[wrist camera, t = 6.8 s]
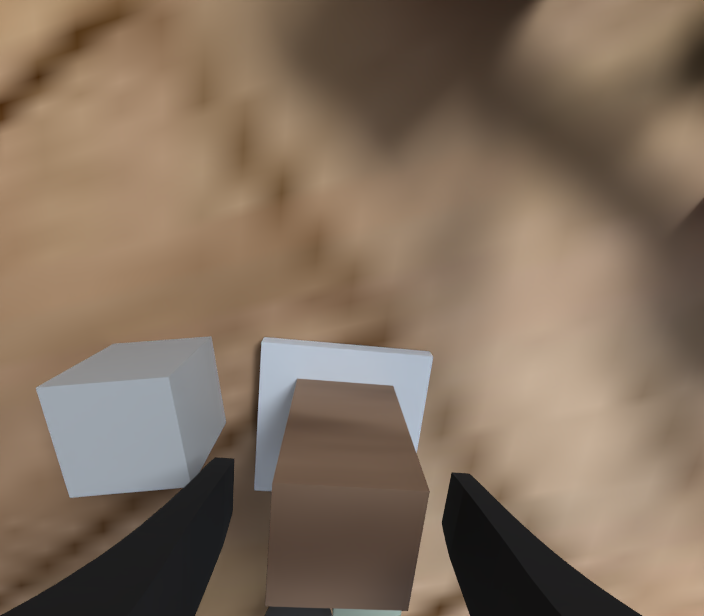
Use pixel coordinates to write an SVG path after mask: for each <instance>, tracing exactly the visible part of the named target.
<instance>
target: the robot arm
mask: <svg viewBox="0 0 704 616" xmlns="http://www.w3.org/2000/svg"><path fill="white" fill-rule="evenodd" d="M233 484H234V459H231V458H214V459H213V460H211V461H210V462H209V463H208V464H207V465H206V466H205V467H204V468H203V469H202V470H201V471H200V472H199V473H198V474H197V475H196V476H195V477H194V478H193V479H192V480H191V481H190V482H189V483H188V484H187V485H186V486H185V487H184V488H183V489H182V490H181V491H180V492H178V493H177V494H176V495H175V496H174V497H173V498H172V499H171V500H170V501H169V502H168V503H166V504H165V505H164V506H163V507H162V508H161V509H160V510H158V511H157V512H156V513H155V514H154V515H152V516H151V517H150V518H149V519H148V520H146V521H145V522H144V523H143V524H142V525H141V526H139V527H138V528H137V529H136V530H134V531H133V532H132V533H130V534H129V535H128V536H127V537H125V538H124V539H123V540H121V541H120V542H119V543H117V544H116V545H115V546H113V547H112V548H110V549H109V550H108V551H106V552H105V553H103V554H102V555H101V556H99V557H98V558H96V559H95V560H93V561H91V562H90V563H88V564H87V565H85V566H84V567H82V568H81V569H79V570H77V571H76V572H74V573H73V574H71V575H70V576H68V577H67V578H65V579H64V580H62V581H60V582H59V583H57V584H55V585H54V586H52V587H50V588H49V589H47V590H45V591H44V592H42V593H40V594H38V595H37V596H35V597H33V598H31V599H30V600H28V601H26V602H24V603H22V604H21V605H19V606H17V607H15V608H13V609H12V610H10V611H8V612H6V613H4V614H2V615H1V616H195V614H196V612H197V609H198V607H199V605H200V602H201V600H202V597H203V595H204V592H205V590H206V587H207V585H208V582H209V580H210V577H211V575H212V572H213V570H214V567H215V565H216V562H217V560H218V557H219V555H220V552H221V549H222V547H223V544H224V540H225V537H226V534H227V530H228V527H229V523H230V519H231V516H232V512H233ZM442 527H443V532H444V536H445V541H446V545H447V549H448V553H449V557H450V560H451V563H452V566H453V569H454V571H455V574H456V577H457V580H458V583H459V586H460V589H461V591H462V594H463V597H464V600H465V603H466V605H467V608H468V611H469V614H470V616H642V615H640V614H639V613H637V612H636V611H634V610H633V609H631V608H629V607H628V606H626V605H625V604H623V603H622V602H621V601H619V600H618V599H616V598H615V597H613V596H612V595H610V594H609V593H607V592H606V591H604V590H603V589H601V588H600V587H599V586H597V585H596V584H594V583H593V582H592V581H590V580H589V579H588V578H586V577H585V576H584V575H582V574H581V573H580V572H578V571H577V570H576V569H574V568H573V567H572V566H571V565H569V564H568V563H567V562H565V561H564V560H563V559H562V558H560V557H559V556H558V555H557V554H555V553H554V552H553V551H552V550H551V549H549V548H548V547H547V546H546V545H545V544H544V543H543V542H541V541H540V540H539V539H538V538H537V537H536V536H534V535H533V534H532V533H531V532H530V531H529V530H528V529H527V528H526V527H524V526H523V525H522V524H521V523H520V522H519V521H518V520H517V519H516V518H515V517H514V516H513V515H512V514H511V513H509V512H508V511H507V510H506V509H505V508H504V507H503V506H502V505H501V504H500V503H499V502H498V501H497V500H496V499H495V498H494V497H493V496H492V495H491V494H490V493H489V492H488V491H487V490H486V489H485V488H484V487H483V486H482V485H481V484H480V483H479V482H478V481H477V480H476V479H475V478H474V477H472V476H471V475H470V474H466V473H452V474H451V479H450V484H449V489H448V494H447V499H446V504H445V509H444V514H443V519H442Z"/></svg>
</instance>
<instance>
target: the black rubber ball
mask: <svg viewBox="0 0 704 616" xmlns="http://www.w3.org/2000/svg"><path fill="white" fill-rule="evenodd" d="M265 616H332V614H331V610H330V608H301V607H270V606H269V608H268V610H267V612H266V614H265Z"/></svg>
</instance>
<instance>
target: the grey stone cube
mask: <svg viewBox="0 0 704 616" xmlns="http://www.w3.org/2000/svg"><path fill="white" fill-rule="evenodd" d="M36 390H37V393H38V396H39V400H40V403H41V406H42V409H43V413H44V416H45V419H46V422H47V426H48V429H49V432H50V435H51V438H52V442H53V445H54V448H55V451H56V455H57V458H58V461H59V464H60V467H61V471H62V474H63V477H64V480H65V484H66V487H67V490H68V493H69V497H70V498H72V497H83V496H95V495H106V494H117V493H129V492H140V491H151V490H163V489H174V488H184V487H185V486H186V485H187V484H188V483H189V482H190V481H191V480H192V479H193V478H194V477H195V476H196V475H197V474H198V473H199V472H200V470H201V468H202V466H203V465H204V463H205V461H206V459H207V457H208V455H209V453H210V452H211V450H212V448H213V446H214V444H215V442H216V440H217V438H218V437H219V435H220V433H221V431H222V429H223V427H224V425H225V424H226V419H225V413H224V407H223V401H222V395H221V390H220V384H219V378H218V372H217V366H216V360H215V355H214V349H213V343H212V337H211V336H210V337H197V338H184V339H171V340H158V341H145V342H132V343H119V344H112V345H111V346H109V347H107V348H105V349H103V350H102V351H100V352H98V353H96V354H95V355H93V356H91V357H89V358H88V359H86V360H84V361H82V362H80V363H79V364H77V365H75V366H73V367H72V368H70V369H68V370H66V371H64V372H63V373H61V374H59V375H57V376H56V377H54V378H52V379H50V380H49V381H47V382H45V383H43V384H41V385H40V386H38V387H36Z"/></svg>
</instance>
